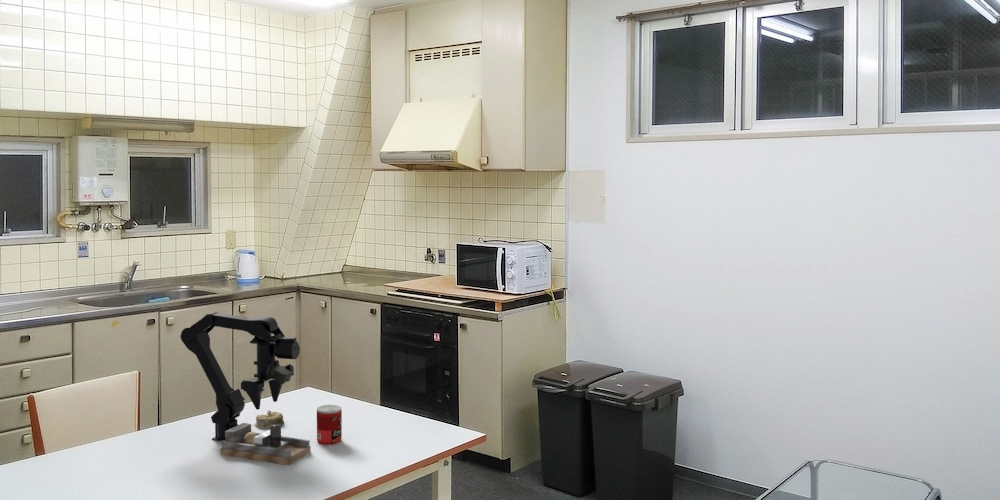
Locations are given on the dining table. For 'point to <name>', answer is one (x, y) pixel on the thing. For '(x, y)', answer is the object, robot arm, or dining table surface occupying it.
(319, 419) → the canned food
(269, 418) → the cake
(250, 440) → the tan rounded piece
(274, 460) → the press base
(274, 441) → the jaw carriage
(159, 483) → the dining table surface
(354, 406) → the dining table surface
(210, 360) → the robot arm
